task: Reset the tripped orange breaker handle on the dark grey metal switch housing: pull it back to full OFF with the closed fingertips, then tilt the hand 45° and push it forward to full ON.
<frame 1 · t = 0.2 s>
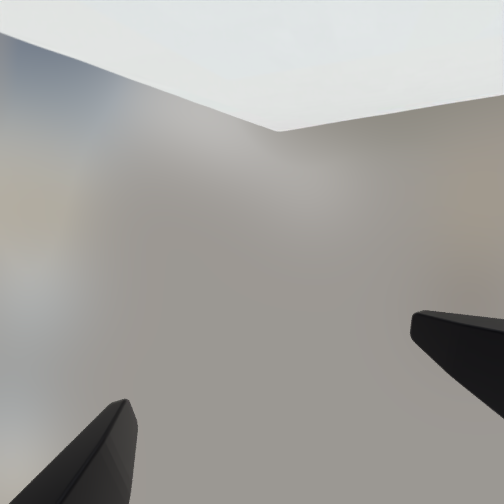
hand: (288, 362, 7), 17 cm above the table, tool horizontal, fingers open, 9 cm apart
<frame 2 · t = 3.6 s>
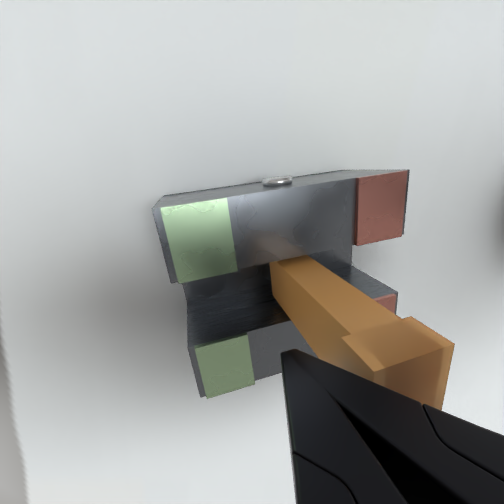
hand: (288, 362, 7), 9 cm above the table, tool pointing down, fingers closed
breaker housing: (267, 254, 16), on the table
breaker handle: (323, 310, 10), point 7 cm above the table, hinge at -0.8°, touching gripper
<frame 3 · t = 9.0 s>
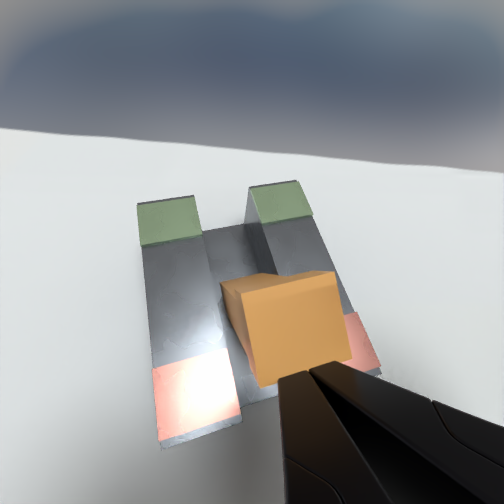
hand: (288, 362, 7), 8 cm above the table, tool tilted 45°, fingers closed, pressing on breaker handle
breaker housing: (240, 305, 16), on the table
breaker handle: (260, 302, 10), point 7 cm above the table, hinge at -23.7°, touching gripper
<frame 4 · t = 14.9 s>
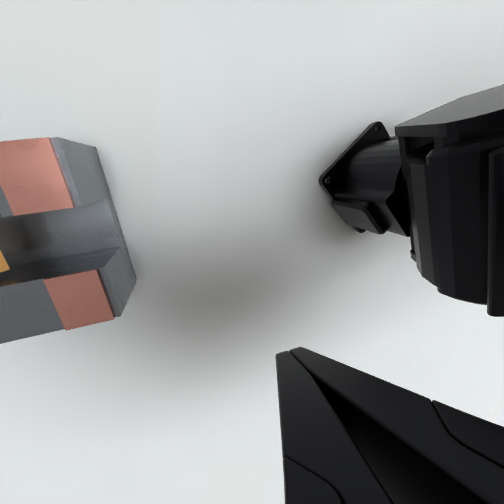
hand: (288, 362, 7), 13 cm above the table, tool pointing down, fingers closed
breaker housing: (26, 234, 16), on the table
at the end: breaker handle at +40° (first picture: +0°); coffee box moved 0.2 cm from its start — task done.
